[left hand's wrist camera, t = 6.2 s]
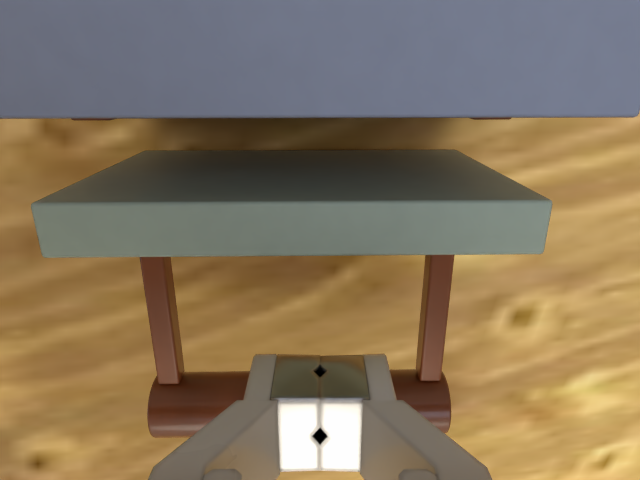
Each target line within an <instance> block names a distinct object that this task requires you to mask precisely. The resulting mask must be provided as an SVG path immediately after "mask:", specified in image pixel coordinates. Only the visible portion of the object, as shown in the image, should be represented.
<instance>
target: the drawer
mask: <svg viewBox="0 0 640 480" xmlns="http://www.w3.org/2000/svg"><path fill="white" fill-rule="evenodd" d="M71 119H72V120H113V119H117V118H71ZM471 119H511V118H471ZM31 209H32V213H33V218H34V222H35V227H36V231H37V235H38V240H39V244H40V248H41V253H42V256H43V257H45V258H63V257H140V262H141V269H142V276H143V282H144V289H145V296H146V302H147V309H148V316H149V323H150V329H151V336H152V343H153V350H154V356H155V363H156V370H157V376H156V378H155V380H154V382H153V385H152V388H151V391H150V396H149V401H148V427H149V431H150V433H151V435H152V436H153V437H155V438H176V437H192V436H193V435H194V434H195V433H197V432H198V431H199V430H200V429H202V428H203V427H204V426H205V425H207V424H208V423H209V422H210V421H212V420H213V419H214V418H215V417H217V416H218V415H219V414H220V413H222V412H223V411H224V410H225V409H227V408H228V407H229V406H230V405H232V404H233V403H234V402H235V401H237V400H243V399H244V395H245V391H246V386H247V382H248V378H249V374H250V371H234V372H184V363H183V355H182V347H181V339H180V331H179V323H178V315H177V306H176V298H175V290H174V282H173V274H172V266H171V258H170V257H201V256H340V255H426V256H425V267H424V279H423V290H422V302H421V313H420V325H419V336H418V348H417V360H416V369H406V370H390V374H391V378H392V382H393V387H394V391H395V395H396V399H397V400H403V401H405V402H406V403H407V404H408V405H410V406H411V407H412V408H413V409H415V410H416V411H417V412H418V413H420V414H421V415H422V416H423V417H425V418H426V419H427V420H428V421H430V422H431V423H432V424H433V425H435V426H436V427H437V428H438V429H440V430H441V431H442V432H443V433H447V432H448V430H449V427H450V422H451V401H450V393H449V388H448V384H447V381H446V378H445V376H444V374H443V372H442V362H443V353H444V344H445V335H446V326H447V317H448V308H449V299H450V290H451V281H452V272H453V262H454V255H478V254H542V253H543V252H544V247H545V242H546V236H547V231H548V225H549V220H550V214H551V209H552V201H551V200H549V199H547V198H546V197H544V196H542V195H540V194H538V193H536V192H534V191H532V190H530V189H529V188H527V187H525V186H523V185H521V184H519V183H517V182H515V181H513V180H512V179H510V178H508V177H506V176H504V175H502V174H500V173H498V172H496V171H495V170H493V169H491V168H489V167H487V166H485V165H483V164H481V163H479V162H478V161H476V160H474V159H472V158H470V157H468V156H466V155H464V154H462V153H461V152H459V151H457V150H215V151H143V152H141V153H139V154H137V155H135V156H133V157H130V158H128V159H126V160H124V161H122V162H120V163H118V164H115V165H113V166H111V167H109V168H107V169H105V170H102V171H100V172H98V173H96V174H94V175H92V176H90V177H87V178H85V179H83V180H81V181H79V182H77V183H75V184H72V185H70V186H68V187H66V188H64V189H62V190H59V191H57V192H55V193H53V194H51V195H49V196H47V197H44V198H42V199H40V200H38V201H36V202H34V203H32V204H31Z"/></svg>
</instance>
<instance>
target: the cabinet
mask: <svg viewBox="0 0 640 480" xmlns="http://www.w3.org/2000/svg"><path fill="white" fill-rule="evenodd" d="M639 110H640V0H0V119H35V118H551V117H635V116H638V114H639Z"/></svg>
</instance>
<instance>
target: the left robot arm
mask: <svg viewBox="0 0 640 480" xmlns="http://www.w3.org/2000/svg"><path fill="white" fill-rule="evenodd" d="M286 471H354V472H360V474H361V476H362V477H363V478H364V480H492V478H491V476H490V473H489V471H488V469H487V467H486V466H484V465H483V464H482V463H481V462H479V461H478V460H477V459H476V458H474V457H473V456H472V455H471V454H469V453H468V452H467V451H466V450H464V449H463V448H462V447H461V446H459V445H458V444H457V443H456V442H454V441H453V440H452V439H451V438H449V437H448V436H447V435H446V434H445V433H443V432H442V431H441V430H440V429H438V428H437V427H436V426H435V425H433V424H432V423H431V422H430V421H428V420H427V419H426V418H425V417H423V416H422V415H421V414H420V413H418V412H417V411H416V410H415V409H413V408H412V407H411V406H410V405H408V404H407V403H406V402H405V401H403V400H397V399H396V395H395V391H394V387H393V382H392V378H391V374H390V370H389V366H388V362H387V357H386V355H385V354H365V355H332V356H320V355H290V354H278V355H276V354H256V355H255V356H254V357H253V361H252V365H251V370H250V374H249V378H248V382H247V386H246V391H245V395H244V399H243V400H237V401H235V402H234V403H233V404H232V405H230V406H229V407H228V408H227V409H225V410H224V411H223V412H222V413H220V414H219V415H218V416H217V417H215V418H214V419H213V420H212V421H210V422H209V423H208V424H207V425H205V426H204V427H203V428H202V429H200V430H199V431H198V432H197V433H195V434H194V435H193V436H192V437H190V438H189V439H188V440H187V441H185V442H184V443H183V444H182V445H180V446H179V447H178V448H177V449H175V450H174V451H173V452H172V453H170V454H169V455H168V456H167V457H165V458H164V459H163V460H162V461H160V462H159V463H158V464H157V465H155V466H154V467H153V469H152V472H151V474H150V476H149V479H148V480H276V479H277V477H278V476H279V475H280V472H286Z"/></svg>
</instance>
